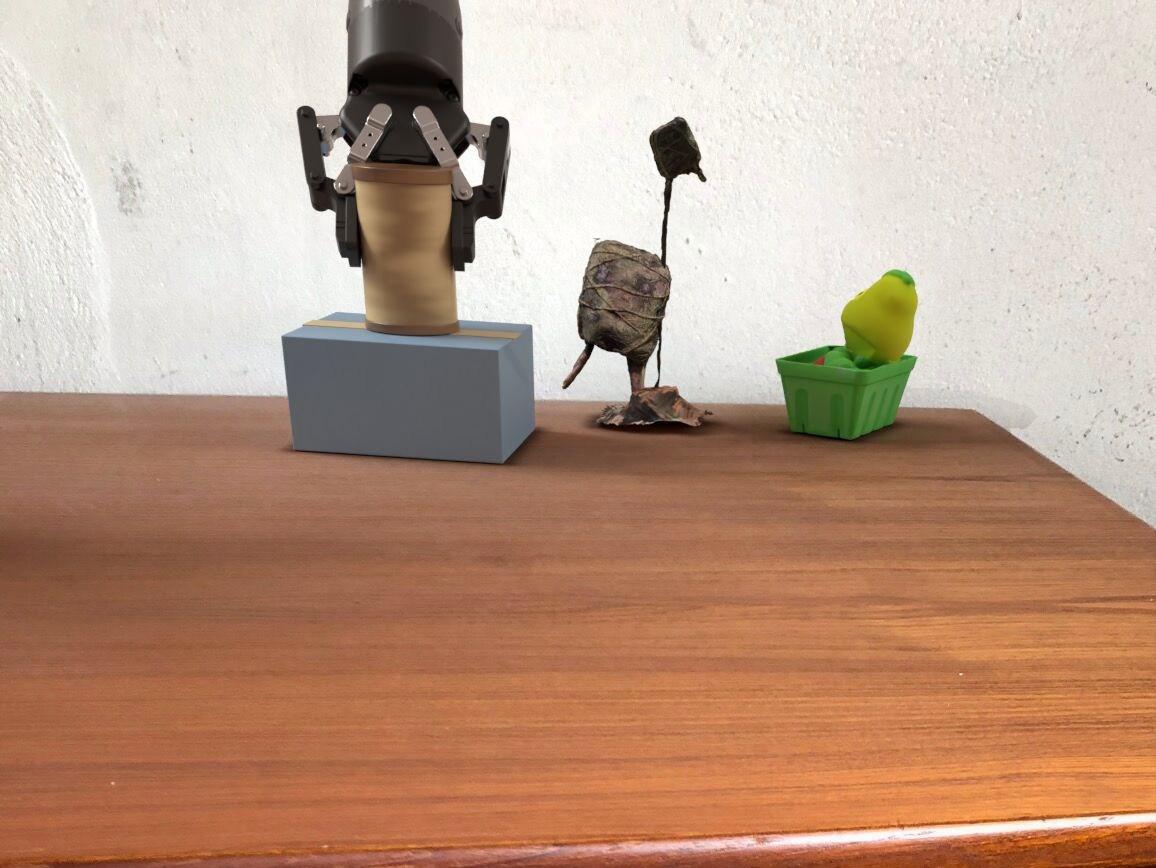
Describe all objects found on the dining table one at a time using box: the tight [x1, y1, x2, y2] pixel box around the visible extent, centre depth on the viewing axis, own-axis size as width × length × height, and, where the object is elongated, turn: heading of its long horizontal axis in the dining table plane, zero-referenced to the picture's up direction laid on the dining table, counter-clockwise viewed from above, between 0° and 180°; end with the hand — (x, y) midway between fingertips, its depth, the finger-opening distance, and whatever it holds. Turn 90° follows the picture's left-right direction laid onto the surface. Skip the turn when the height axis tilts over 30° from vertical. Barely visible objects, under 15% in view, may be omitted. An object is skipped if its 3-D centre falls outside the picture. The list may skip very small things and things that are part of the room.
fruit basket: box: [775, 268, 919, 441], centre depth 113 cm, size 11×9×11 cm
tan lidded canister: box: [350, 162, 460, 336], centre depth 98 cm, size 6×6×10 cm
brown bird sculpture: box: [561, 115, 715, 427], centre depth 108 cm, size 8×11×20 cm
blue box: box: [280, 311, 536, 465], centre depth 103 cm, size 14×12×7 cm
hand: (405, 260), depth 97 cm, fingers closed on tan lidded canister, 6 cm apart
